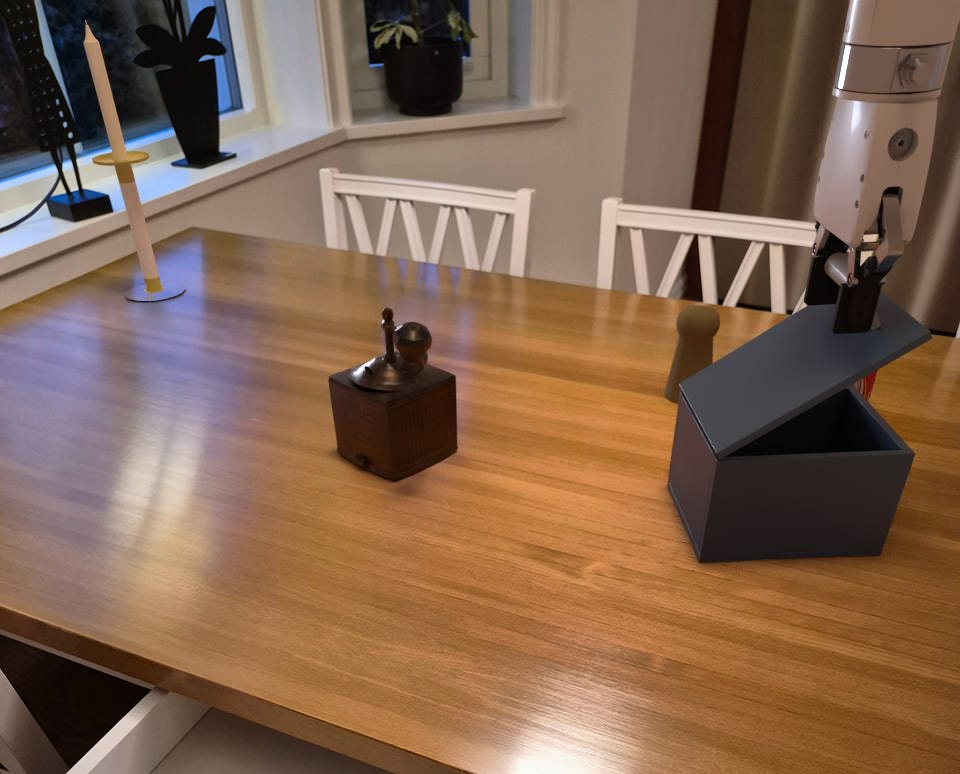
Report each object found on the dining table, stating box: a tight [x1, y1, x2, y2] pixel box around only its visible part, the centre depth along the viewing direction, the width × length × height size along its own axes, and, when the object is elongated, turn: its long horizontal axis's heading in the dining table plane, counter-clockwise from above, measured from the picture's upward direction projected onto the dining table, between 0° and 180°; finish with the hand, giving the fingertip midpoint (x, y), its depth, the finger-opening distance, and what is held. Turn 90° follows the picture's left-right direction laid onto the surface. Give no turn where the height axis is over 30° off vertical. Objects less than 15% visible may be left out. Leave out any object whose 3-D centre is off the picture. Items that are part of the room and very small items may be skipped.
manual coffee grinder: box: [328, 307, 459, 481], centre depth 93 cm, size 16×11×18 cm
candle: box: [83, 19, 164, 300], centre depth 134 cm, size 10×10×38 cm
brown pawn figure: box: [663, 304, 721, 405], centre depth 107 cm, size 6×6×11 cm
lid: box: [679, 253, 933, 459], centre depth 76 cm, size 19×15×6 cm
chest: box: [666, 385, 916, 564], centre depth 84 cm, size 18×15×11 cm
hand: (835, 315), depth 75 cm, fingers closed on lid, 6 cm apart
